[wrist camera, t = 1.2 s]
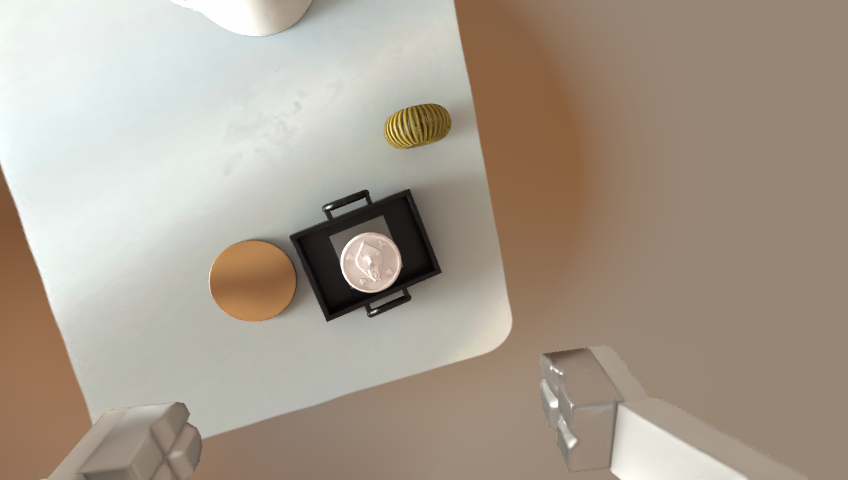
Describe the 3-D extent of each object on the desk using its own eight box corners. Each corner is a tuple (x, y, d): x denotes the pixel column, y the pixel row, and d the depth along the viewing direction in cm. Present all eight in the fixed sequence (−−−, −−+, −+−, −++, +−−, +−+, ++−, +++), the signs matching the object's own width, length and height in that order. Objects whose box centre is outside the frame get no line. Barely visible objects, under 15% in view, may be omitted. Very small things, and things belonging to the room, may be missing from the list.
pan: (286, 219, 49) (282, 221, 45) (400, 175, 51) (403, 174, 48) (333, 327, 51) (333, 335, 48) (441, 280, 53) (447, 285, 50)
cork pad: (195, 259, 47) (193, 259, 47) (276, 227, 48) (276, 227, 48) (232, 333, 49) (230, 334, 48) (309, 300, 50) (309, 301, 50)
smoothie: (381, 219, 51) (394, 226, 37) (399, 265, 52) (417, 288, 38) (334, 237, 50) (329, 251, 36) (352, 283, 51) (354, 314, 37)
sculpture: (385, 155, 50) (392, 146, 42) (377, 123, 49) (383, 108, 42) (445, 141, 51) (462, 131, 44) (438, 110, 51) (454, 94, 43)
